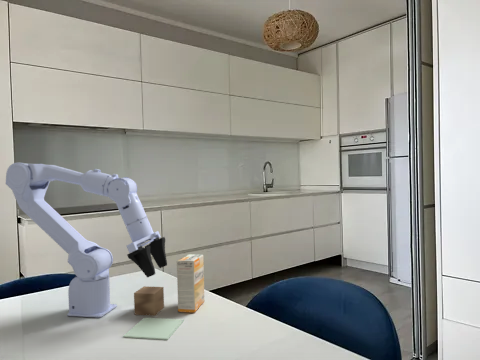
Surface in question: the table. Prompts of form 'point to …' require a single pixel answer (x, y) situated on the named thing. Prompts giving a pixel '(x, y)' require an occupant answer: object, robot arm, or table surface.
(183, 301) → the supplement box
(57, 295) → the table surface
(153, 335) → the sage pad
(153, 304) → the walnut block
